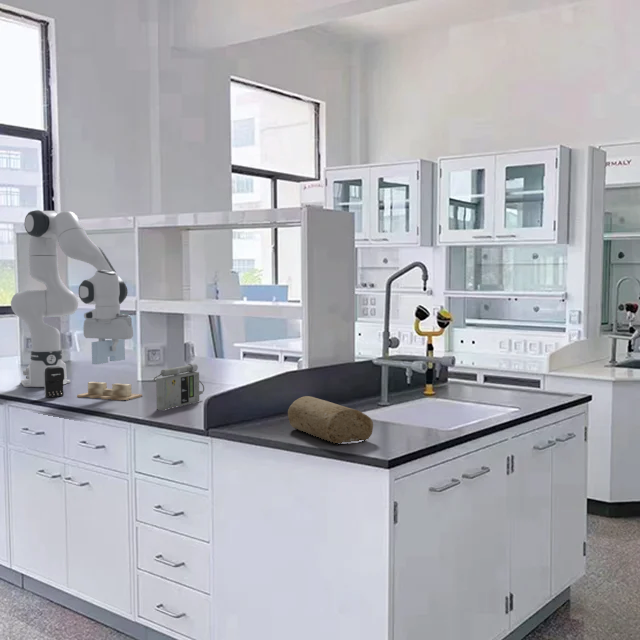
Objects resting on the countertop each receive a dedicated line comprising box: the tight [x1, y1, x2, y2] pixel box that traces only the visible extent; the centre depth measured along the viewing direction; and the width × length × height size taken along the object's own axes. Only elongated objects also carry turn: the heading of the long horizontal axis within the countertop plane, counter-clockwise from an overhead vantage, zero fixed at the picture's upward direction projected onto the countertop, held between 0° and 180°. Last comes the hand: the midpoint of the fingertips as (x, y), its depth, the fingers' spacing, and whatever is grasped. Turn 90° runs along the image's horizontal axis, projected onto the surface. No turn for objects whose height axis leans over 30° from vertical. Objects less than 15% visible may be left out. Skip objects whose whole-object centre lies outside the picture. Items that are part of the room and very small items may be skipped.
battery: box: [43, 366, 65, 398], centre depth 279 cm, size 7×4×11 cm, turn 132°
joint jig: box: [76, 381, 143, 401], centre depth 279 cm, size 22×10×5 cm, turn 68°
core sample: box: [287, 395, 374, 444], centre depth 212 cm, size 14×26×10 cm, turn 31°
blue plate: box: [91, 339, 126, 365], centre depth 277 cm, size 16×2×8 cm, turn 158°
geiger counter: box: [153, 362, 205, 411], centre depth 262 cm, size 14×6×25 cm
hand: (108, 350), depth 277 cm, fingers closed on blue plate, 2 cm apart
